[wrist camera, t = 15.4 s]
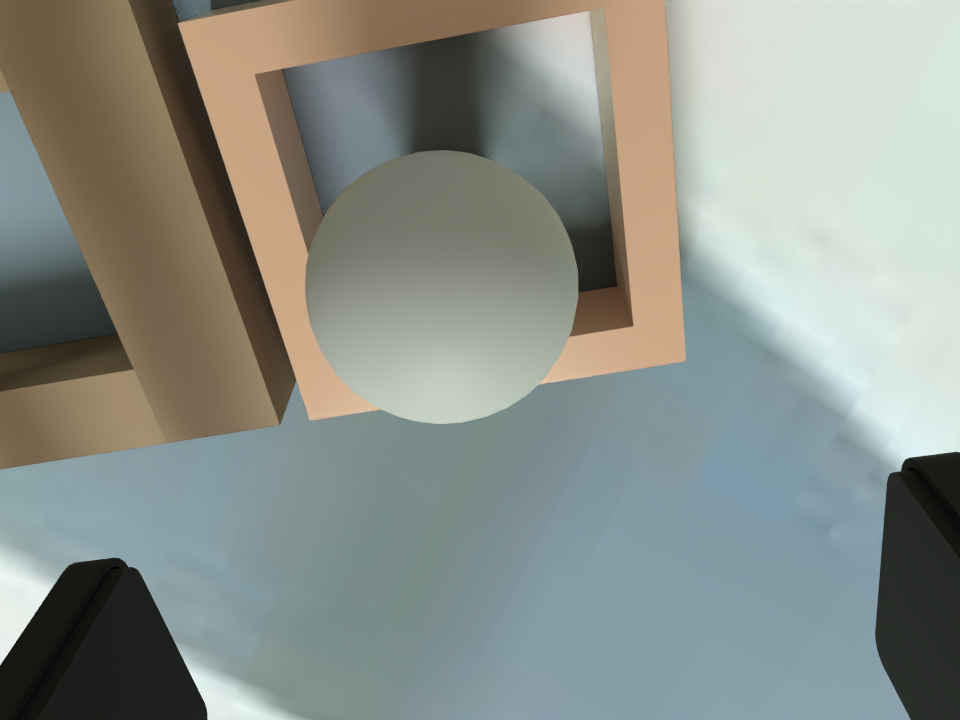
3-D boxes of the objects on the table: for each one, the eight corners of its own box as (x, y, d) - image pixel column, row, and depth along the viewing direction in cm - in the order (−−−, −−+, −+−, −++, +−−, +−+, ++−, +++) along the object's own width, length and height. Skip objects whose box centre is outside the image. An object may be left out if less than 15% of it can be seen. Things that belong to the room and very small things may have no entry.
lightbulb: (506, 52, 23) (538, 149, 14) (570, 238, 26) (633, 427, 16) (315, 129, 24) (220, 269, 15) (397, 301, 27) (361, 514, 17)
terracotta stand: (637, -74, 22) (660, -72, 19) (664, 318, 28) (685, 361, 25) (210, 10, 23) (177, 23, 20) (324, 373, 28) (309, 420, 26)
